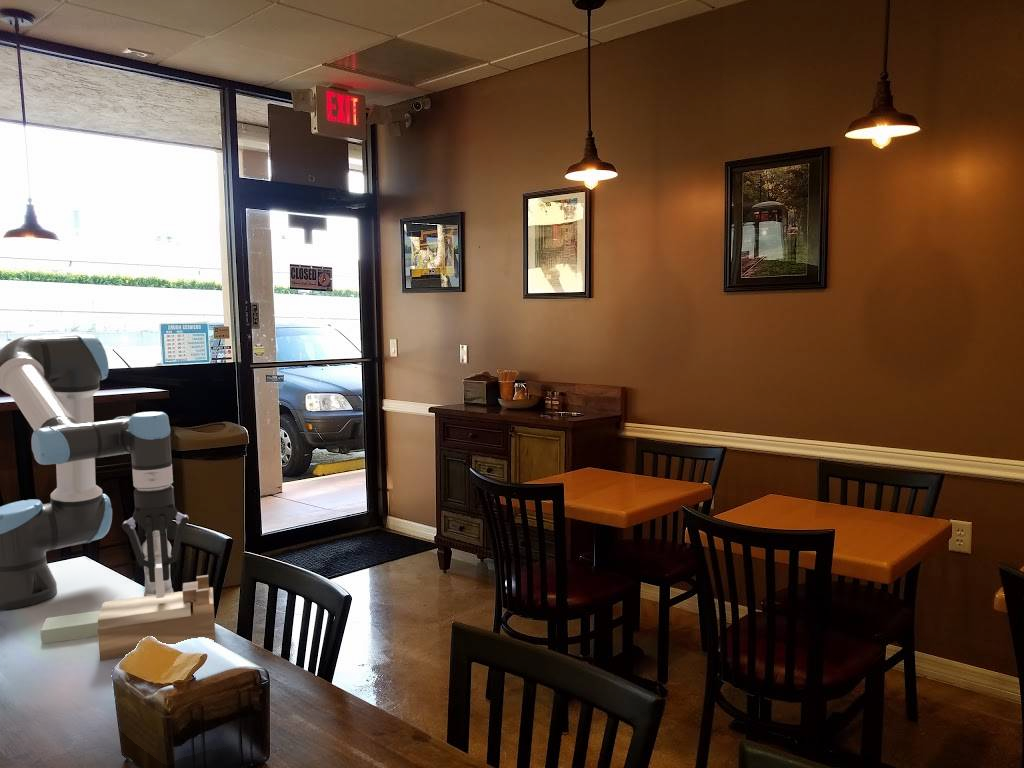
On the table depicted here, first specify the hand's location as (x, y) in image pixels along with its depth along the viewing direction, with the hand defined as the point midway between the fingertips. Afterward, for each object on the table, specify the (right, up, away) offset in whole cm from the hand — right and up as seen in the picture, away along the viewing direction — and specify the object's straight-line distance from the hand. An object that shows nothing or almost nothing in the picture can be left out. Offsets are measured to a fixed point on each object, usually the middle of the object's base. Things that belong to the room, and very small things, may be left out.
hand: (160, 595), depth 165 cm
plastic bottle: (-9, -9, +19) cm, 23 cm away
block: (+5, -1, +2) cm, 6 cm away
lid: (-3, -4, -1) cm, 4 cm away
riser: (-21, -10, +7) cm, 24 cm away
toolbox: (-1, -11, +1) cm, 11 cm away
